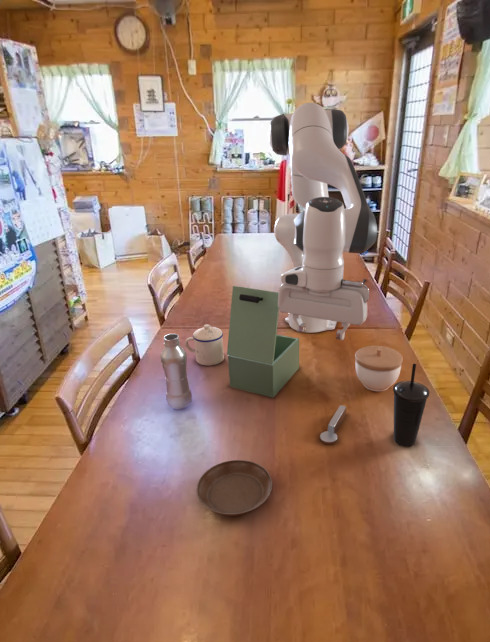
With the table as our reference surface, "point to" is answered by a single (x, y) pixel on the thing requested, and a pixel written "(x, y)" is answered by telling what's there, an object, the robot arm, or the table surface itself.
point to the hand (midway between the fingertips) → (320, 335)
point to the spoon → (333, 427)
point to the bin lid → (253, 324)
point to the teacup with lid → (207, 345)
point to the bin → (266, 369)
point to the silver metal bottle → (175, 373)
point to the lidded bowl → (378, 367)
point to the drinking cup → (408, 409)
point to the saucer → (234, 487)
